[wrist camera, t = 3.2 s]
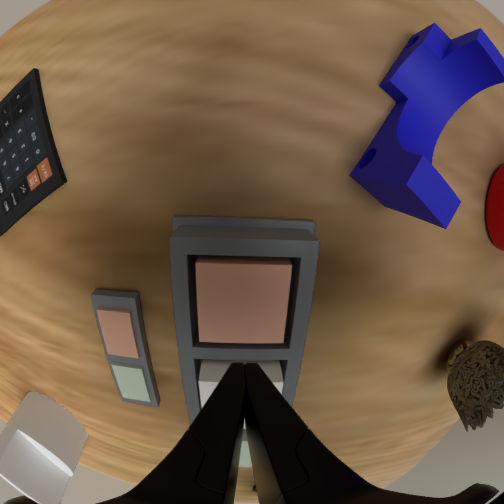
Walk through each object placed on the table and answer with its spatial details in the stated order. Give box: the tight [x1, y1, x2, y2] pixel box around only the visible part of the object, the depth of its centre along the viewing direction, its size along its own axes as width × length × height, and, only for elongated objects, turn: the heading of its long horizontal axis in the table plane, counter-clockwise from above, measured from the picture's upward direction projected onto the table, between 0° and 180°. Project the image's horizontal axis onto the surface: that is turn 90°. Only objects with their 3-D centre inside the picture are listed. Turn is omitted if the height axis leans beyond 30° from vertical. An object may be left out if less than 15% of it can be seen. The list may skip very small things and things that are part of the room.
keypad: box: [169, 216, 320, 424], centre depth 16 cm, size 20×8×3 cm, turn 177°
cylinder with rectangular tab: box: [0, 391, 88, 504], centre depth 15 cm, size 9×9×12 cm
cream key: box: [199, 359, 284, 429], centre depth 15 cm, size 4×4×2 cm
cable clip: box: [350, 23, 504, 229], centre depth 10 cm, size 12×4×6 cm, turn 146°
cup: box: [445, 339, 504, 431], centre depth 16 cm, size 8×7×8 cm
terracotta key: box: [196, 255, 292, 343], centre depth 14 cm, size 4×4×2 cm
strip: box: [91, 289, 160, 407], centre depth 17 cm, size 10×3×1 cm, turn 177°
